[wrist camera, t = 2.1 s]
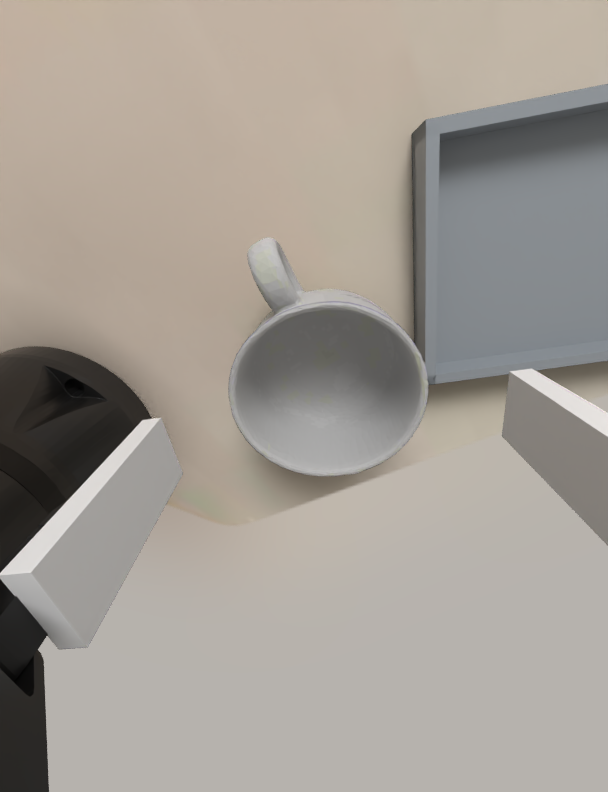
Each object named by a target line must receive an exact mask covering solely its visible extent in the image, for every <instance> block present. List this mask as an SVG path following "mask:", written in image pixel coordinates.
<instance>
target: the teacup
mask: <svg viewBox="0 0 608 792" xmlns="http://www.w3.org/2000/svg"><path fill="white" fill-rule="evenodd" d="M248 264H249V266H250V269H251V272H252V275H253V278H254V280H255V282H256V284H257V286H258V288H259V290H260V292H261V294H262V295H263V297H264V299H265V300H266V302H267V303H268V305H269V306H270V308H271V309H272V310H273V311H272V312H271V313H270V314H269V315H268V316H267V317H266V318H265V319H264V320H263V321H262V322H261V324H260V325H259V326H258V328H257V329H256V331H255V332H254V333H253V334H252V335H251V336H250V337H249V338H248V339H247V340H246V341H245V343H244V344H243V345H242V347H241V348H240V350H239V352H238V353H237V355H236V358H235V360H234V363H233V366H232V368H231V372H230V378H229V389H228V390H229V400H230V405H231V410H232V415H233V417H234V420H235V422H236V424H237V426H238V428H239V430H240V432H241V433H242V435H243V436H244V438H245V439H246V440H247V441H248V443H249V444H250V445H251V446H252V447H253V448H254V449H255V450H256V451H257V452H259V453H260V454H261V455H262V456H264V457H265V458H267V459H268V460H270V461H271V462H273V463H275V464H277V465H279V466H280V467H283V468H285V469H288V470H290V471H294V472H297V473H301V474H305V475H313V476H341V475H349V474H356V473H360V472H361V471H364V470H367V469H370V468H372V467H374V466H376V465H379V464H381V463H383V462H384V461H385V460H387V459H388V458H390V457H392V456H393V455H395V454H396V453H397V452H398V451H399V450H400V449H401V448H402V447H403V446H404V445H405V444H406V443H407V442H408V441H409V439H410V438H411V437H412V436H413V434H414V432H415V431H416V430H417V428H418V426H419V424H420V422H421V420H422V418H423V415H424V412H425V408H426V405H427V397H428V385H429V383H428V379H427V371H426V366H425V363H424V361H423V359H422V356H421V354H420V352H419V350H418V349H417V347H416V345H415V343H414V342H413V341H412V339H411V338H410V337H409V336H408V334H407V333H406V332H405V331H404V330H403V329H402V328H401V327H400V326H399V325H398V324H397V323H395V322H394V321H393V319H392V318H391V317H390V316H389V315H388V314H387V313H386V312H385V311H384V310H383V309H381V308H380V307H379V306H378V305H376V304H375V303H373V302H372V301H370V300H368V299H367V298H364V297H362V296H360V295H358V294H355V293H352V292H349V291H345V290H338V289H320V290H313V291H309V292H305V291H304V290H303V289H302V287H301V285H300V284H299V282H298V280H297V278H296V276H295V274H294V272H293V270H292V268H291V266H290V264H289V262H288V260H287V258H286V256H285V254H284V252H283V250H282V248H281V246H280V245H279V243H278V242H277V241H276V240H275V239H274V238H264V239H262V240H259V241H258V242H256V243H255V244H253V245H252V246H251V247H250V249H249V250H248Z"/></svg>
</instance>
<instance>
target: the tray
mask: <svg viewBox="0 0 608 792" xmlns="http://www.w3.org/2000/svg"><path fill="white" fill-rule="evenodd" d="M412 180H413V262H414V343H415V345H416V347H417V349H418V350H419V352H420V354H421V356H422V359H423V361H424V363H425V366H426V371H427V379H428V383H429V385H432V384H439V383H446V382H454V381H461V380H469V379H476V378H483V377H491V376H498V375H506V374H509V372H510V371H517V370H524V369H534V370H543V369H550V368H557V367H565V366H572V365H580V364H587V363H594V362H602V361H608V84H605V85H600V86H595V87H589V88H584V89H579V90H574V91H569V92H564V93H559V94H554V95H549V96H544V97H538V98H533V99H528V100H523V101H518V102H513V103H508V104H503V105H498V106H493V107H488V108H482V109H477V110H472V111H467V112H462V113H457V114H452V115H447V116H442V117H437V118H432V119H426V120H425V121H424V122H423V123H422V124H421V125H420V126H419V127H418V128H417V129H416V130H415V131H414V132H413V133H412Z"/></svg>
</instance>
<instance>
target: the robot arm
mask: <svg viewBox="0 0 608 792" xmlns="http://www.w3.org/2000/svg"><path fill="white" fill-rule="evenodd" d="M502 437H503V438H504V439H505V440H506V441H507V442H508V443H509V444H510V445H511V446H512V447H513V448H514V449H515V450H516V451H517V452H518V453H519V454H520V455H521V456H522V457H523V458H524V460H525V461H526V462H527V463H528V464H529V465H530V466H531V467H532V468H533V469H534V470H535V471H536V472H537V473H538V474H539V475H540V476H541V477H542V478H543V479H544V480H545V481H546V482H547V483H548V484H549V485H550V486H551V487H552V488H553V489H554V491H555V492H556V493H557V494H558V495H559V496H560V497H561V498H562V499H563V500H564V501H565V502H566V503H567V504H568V505H569V506H570V507H571V508H572V509H573V510H574V511H575V512H576V513H577V514H578V515H579V516H580V517H581V518H582V519H583V520H584V522H586V524H587V525H588V526H589V527H590V528H591V529H592V530H593V531H594V532H595V533H596V534H597V535H598V536H599V537H600V538H601V539H602V540H603V541H604V542H605V543H606V544H607V545H608V413H607V412H605V411H604V410H602V409H600V408H598V407H597V406H595V405H593V404H592V403H590V402H588V401H587V400H585V399H583V398H581V397H580V396H578V395H576V394H575V393H573V392H571V391H569V390H568V389H566V388H564V387H563V386H561V385H559V384H557V383H556V382H554V381H552V380H551V379H549V378H547V377H546V376H544V375H542V374H540V373H539V372H537V371H535V370H534V369H524V370H517V371H510V372H509V380H508V388H507V397H506V405H505V414H504V422H503V431H502ZM182 474H183V472H182V469H181V467H180V464H179V462H178V459H177V457H176V454H175V452H174V449H173V446H172V444H171V441H170V439H169V436H168V434H167V431H166V429H165V426H164V423H163V421H162V418H154V419H151V417H150V415H149V413H148V411H147V410H146V408H145V406H144V405H143V403H142V402H141V401H140V399H139V398H138V397H137V395H136V394H135V393H134V392H133V391H132V390H131V389H130V388H129V387H128V386H127V385H126V384H125V383H124V382H123V381H122V380H121V379H119V378H118V377H117V376H116V375H114V374H113V373H112V372H110V371H109V370H107V369H106V368H104V367H103V366H101V365H99V364H97V363H96V362H94V361H92V360H90V359H87V358H85V357H83V356H80V355H78V354H75V353H72V352H69V351H65V350H61V349H56V348H50V347H22V348H16V349H12V350H9V351H6V352H3V353H1V354H0V792H49V784H48V759H47V737H46V713H45V712H46V710H45V686H44V665H43V664H44V661H43V658H42V655H41V653H40V652H39V651H38V648H39V647H40V645H41V644H42V642H43V641H44V639H45V638H46V636H48V637H49V638H50V639H51V641H52V642H53V643H54V644H55V645H56V647H57V648H58V649H71V648H72V649H73V648H86V647H88V646H89V644H90V642H91V641H92V639H93V637H94V635H95V633H96V631H97V629H98V628H99V626H100V624H101V622H102V620H103V619H104V617H105V615H106V613H107V611H108V610H109V608H110V606H111V604H112V602H113V600H114V599H115V597H116V595H117V593H118V591H119V589H120V588H121V586H122V584H123V582H124V580H125V578H126V577H127V575H128V573H129V571H130V569H131V568H132V566H133V564H134V562H135V560H136V558H137V557H138V555H139V553H140V551H141V549H142V547H143V546H144V544H145V542H146V540H147V538H148V536H149V535H150V533H151V531H152V529H153V527H154V525H155V524H156V522H157V520H158V518H159V516H160V515H161V513H162V511H163V509H164V507H165V505H166V504H167V502H168V500H169V498H170V496H171V494H172V493H173V491H174V489H175V487H176V485H177V484H178V482H179V480H180V478H181V476H182Z"/></svg>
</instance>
